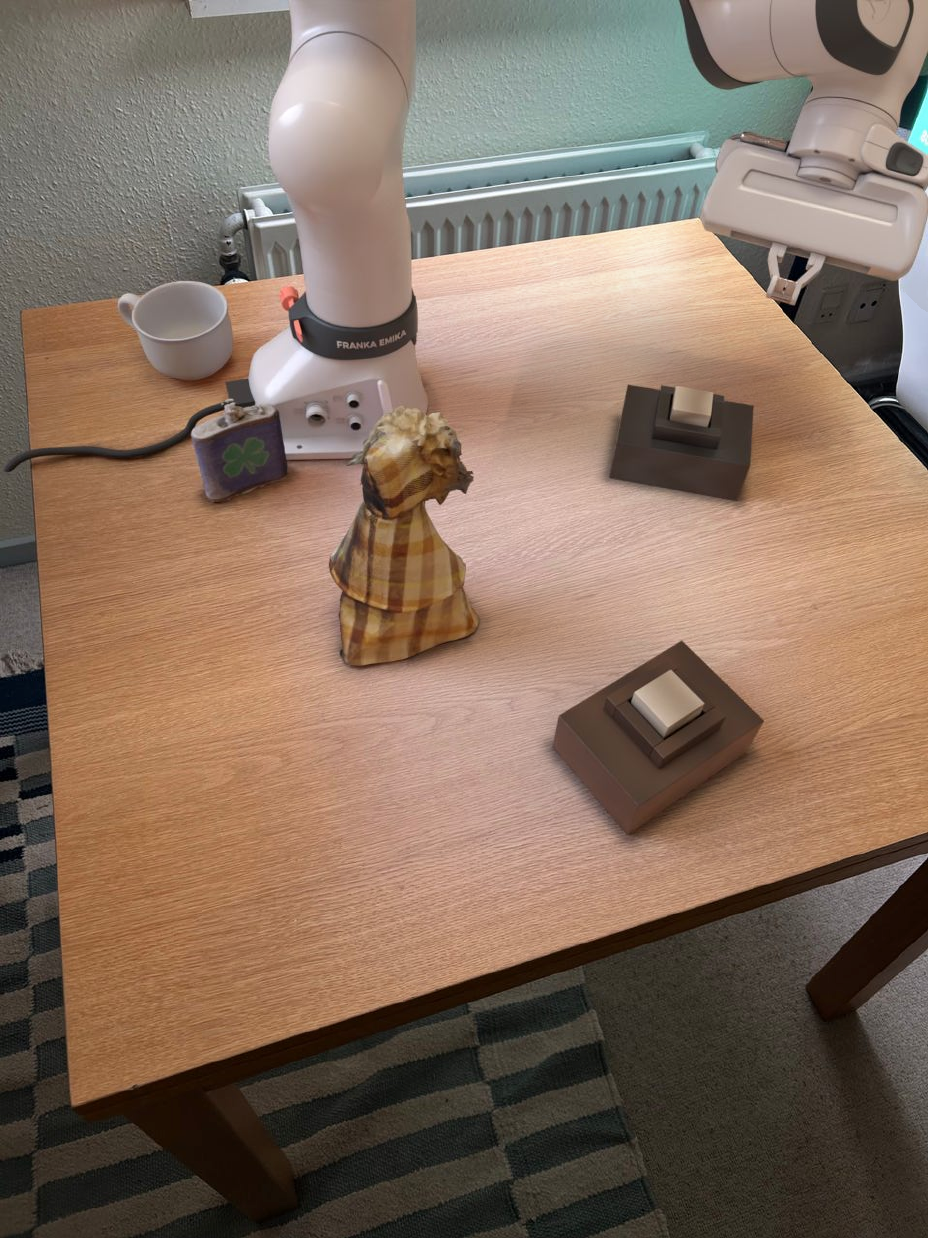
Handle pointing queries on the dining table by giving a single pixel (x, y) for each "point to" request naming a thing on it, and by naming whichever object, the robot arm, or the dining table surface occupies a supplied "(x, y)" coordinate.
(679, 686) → the key near
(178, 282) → the teacup
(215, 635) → the dining table surface
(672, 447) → the stepped block
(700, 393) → the key far
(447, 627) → the plush toy
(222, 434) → the flask
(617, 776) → the push button box
